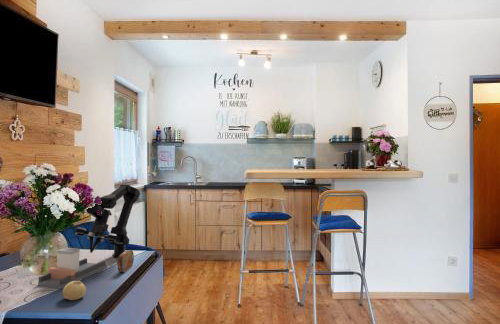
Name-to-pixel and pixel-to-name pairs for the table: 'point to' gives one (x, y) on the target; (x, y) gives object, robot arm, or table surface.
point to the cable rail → (57, 281)
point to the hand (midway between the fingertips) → (91, 252)
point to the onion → (74, 290)
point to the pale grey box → (68, 258)
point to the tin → (125, 261)
